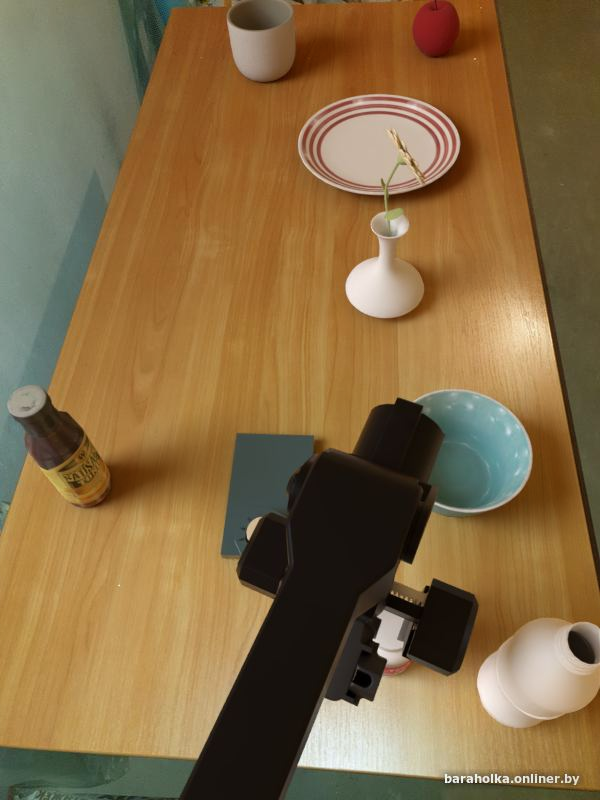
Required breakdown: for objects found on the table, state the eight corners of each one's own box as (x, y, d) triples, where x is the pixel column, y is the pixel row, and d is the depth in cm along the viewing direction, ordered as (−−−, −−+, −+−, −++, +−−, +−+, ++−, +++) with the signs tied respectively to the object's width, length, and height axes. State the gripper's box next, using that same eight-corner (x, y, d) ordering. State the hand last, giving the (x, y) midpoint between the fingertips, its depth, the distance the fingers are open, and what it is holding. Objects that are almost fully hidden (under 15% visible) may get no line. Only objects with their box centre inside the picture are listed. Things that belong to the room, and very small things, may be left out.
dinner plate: (306, 106, 119) (305, 89, 116) (454, 107, 117) (457, 90, 114) (291, 207, 105) (290, 191, 102) (460, 211, 102) (463, 195, 100)
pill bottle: (378, 690, 66) (384, 672, 57) (344, 638, 69) (345, 613, 60) (425, 655, 68) (439, 632, 58) (390, 606, 71) (398, 577, 61)
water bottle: (471, 723, 64) (535, 689, 43) (473, 649, 68) (534, 584, 47) (544, 737, 63) (647, 709, 42) (543, 661, 67) (637, 600, 46)
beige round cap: (278, 552, 72) (276, 547, 71) (246, 550, 72) (244, 546, 71) (280, 521, 74) (279, 517, 72) (249, 520, 74) (248, 515, 73)
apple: (459, 62, 124) (468, 8, 115) (412, 64, 124) (418, 11, 116) (452, 36, 129) (460, -18, 120) (408, 38, 129) (412, -15, 121)
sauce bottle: (95, 517, 78) (27, 442, 61) (55, 498, 80) (-22, 419, 63) (125, 473, 81) (68, 389, 64) (85, 455, 83) (20, 369, 66)
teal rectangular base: (306, 573, 73) (305, 565, 71) (220, 568, 74) (216, 560, 71) (314, 440, 82) (313, 429, 79) (237, 437, 83) (234, 426, 80)
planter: (236, 54, 130) (228, -3, 120) (297, 51, 129) (294, -7, 120) (233, 90, 123) (224, 33, 114) (297, 87, 122) (293, 29, 113)
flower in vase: (424, 326, 91) (449, 183, 69) (344, 324, 92) (345, 183, 70) (421, 258, 98) (443, 110, 76) (346, 258, 98) (348, 111, 77)
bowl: (392, 414, 83) (397, 380, 76) (515, 429, 81) (532, 395, 74) (379, 527, 75) (383, 500, 68) (516, 547, 73) (534, 521, 66)
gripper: (185, 615, 43) (222, 656, 57) (450, 741, 39) (423, 753, 52) (256, 477, 49) (275, 544, 62) (499, 573, 44) (462, 623, 57)
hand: (352, 613), depth 58 cm, fingers open, 9 cm apart
